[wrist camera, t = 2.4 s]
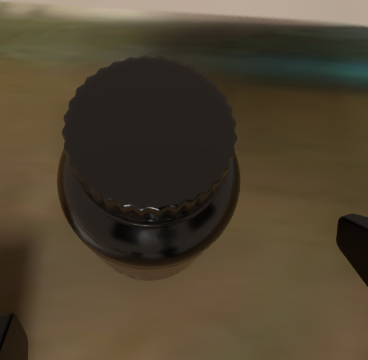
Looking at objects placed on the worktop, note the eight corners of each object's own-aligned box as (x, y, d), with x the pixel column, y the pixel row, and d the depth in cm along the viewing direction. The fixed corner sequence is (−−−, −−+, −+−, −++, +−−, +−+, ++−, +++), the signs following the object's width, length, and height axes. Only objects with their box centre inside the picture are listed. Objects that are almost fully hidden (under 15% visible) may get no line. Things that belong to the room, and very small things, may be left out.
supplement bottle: (118, 155, 22) (90, -6, 10) (219, 191, 22) (300, 68, 10) (70, 258, 19) (-33, 193, 8) (184, 300, 19) (241, 292, 8)
